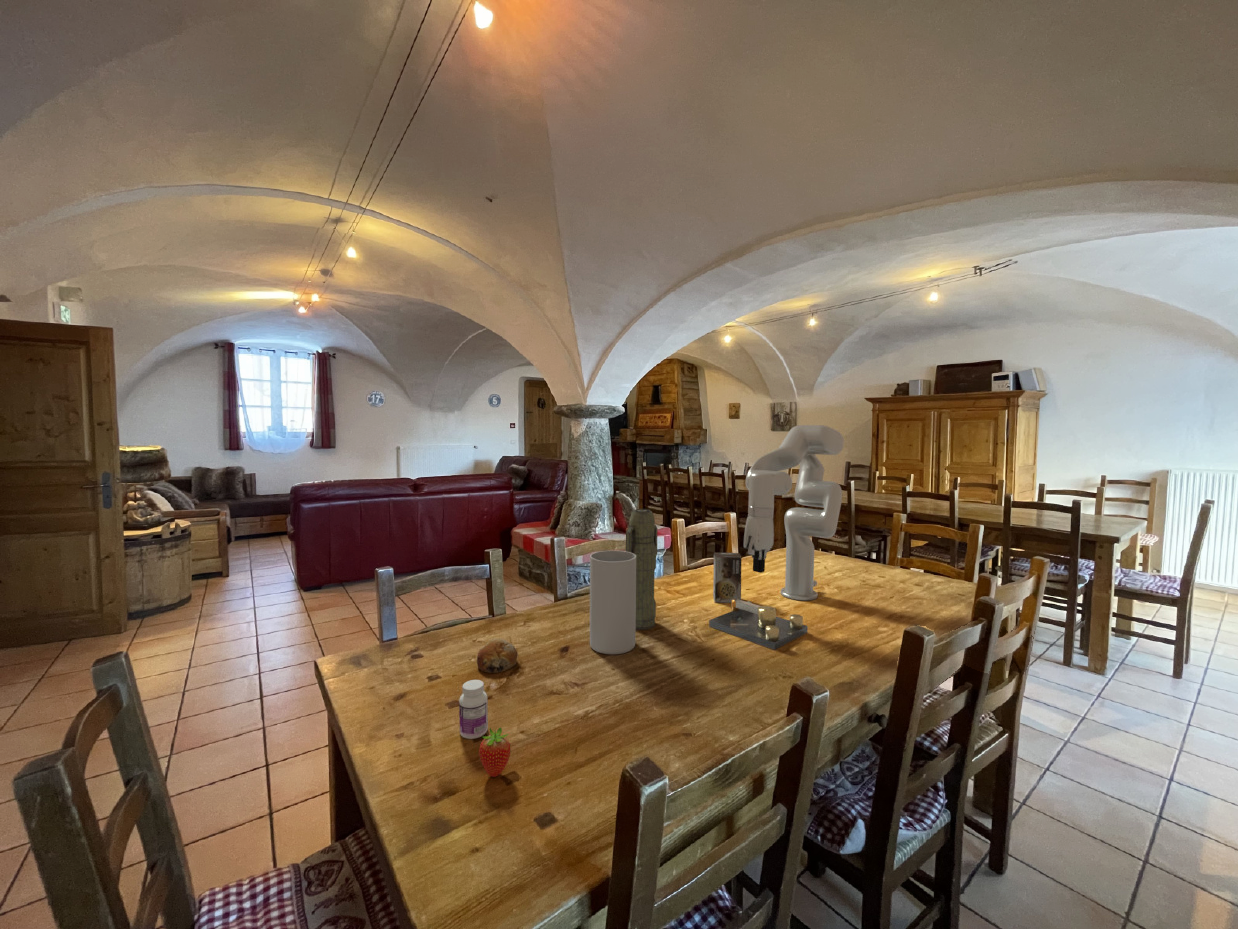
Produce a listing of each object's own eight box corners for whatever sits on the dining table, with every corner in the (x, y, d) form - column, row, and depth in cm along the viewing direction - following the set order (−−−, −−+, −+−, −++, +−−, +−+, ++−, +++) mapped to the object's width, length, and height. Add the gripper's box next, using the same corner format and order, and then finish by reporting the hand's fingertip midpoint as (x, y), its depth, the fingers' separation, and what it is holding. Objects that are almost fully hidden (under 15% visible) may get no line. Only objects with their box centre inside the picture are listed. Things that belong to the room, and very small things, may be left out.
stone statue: (664, 622, 159) (665, 509, 156) (640, 633, 150) (641, 514, 148) (641, 615, 165) (643, 506, 162) (617, 625, 156) (618, 510, 153)
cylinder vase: (642, 641, 145) (643, 553, 143) (623, 659, 133) (624, 564, 131) (602, 633, 150) (602, 548, 148) (581, 650, 138) (581, 558, 137)
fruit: (473, 780, 87) (472, 734, 87) (491, 761, 92) (490, 718, 92) (500, 788, 85) (499, 741, 85) (517, 769, 90) (516, 725, 90)
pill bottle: (462, 724, 104) (462, 678, 103) (489, 723, 104) (489, 677, 103) (456, 740, 98) (456, 691, 98) (485, 739, 99) (484, 690, 98)
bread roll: (521, 676, 132) (527, 643, 134) (501, 675, 123) (508, 640, 125) (487, 669, 135) (494, 637, 138) (466, 669, 126) (473, 634, 129)
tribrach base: (743, 612, 168) (743, 597, 167) (807, 632, 152) (807, 616, 151) (709, 626, 156) (709, 610, 155) (774, 650, 140) (774, 632, 139)
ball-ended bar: (778, 625, 151) (779, 609, 151) (769, 630, 148) (770, 613, 147) (736, 612, 162) (737, 596, 162) (727, 616, 159) (727, 600, 158)
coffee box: (738, 597, 183) (739, 552, 182) (741, 603, 176) (742, 557, 175) (712, 596, 184) (713, 551, 182) (714, 602, 177) (715, 556, 176)
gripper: (763, 509, 166) (761, 565, 167) (736, 513, 156) (734, 573, 157) (784, 512, 161) (782, 570, 162) (757, 516, 151) (755, 578, 152)
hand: (758, 571), depth 159 cm, fingers closed
